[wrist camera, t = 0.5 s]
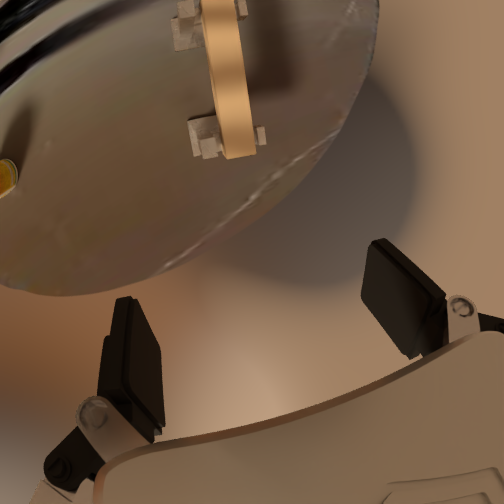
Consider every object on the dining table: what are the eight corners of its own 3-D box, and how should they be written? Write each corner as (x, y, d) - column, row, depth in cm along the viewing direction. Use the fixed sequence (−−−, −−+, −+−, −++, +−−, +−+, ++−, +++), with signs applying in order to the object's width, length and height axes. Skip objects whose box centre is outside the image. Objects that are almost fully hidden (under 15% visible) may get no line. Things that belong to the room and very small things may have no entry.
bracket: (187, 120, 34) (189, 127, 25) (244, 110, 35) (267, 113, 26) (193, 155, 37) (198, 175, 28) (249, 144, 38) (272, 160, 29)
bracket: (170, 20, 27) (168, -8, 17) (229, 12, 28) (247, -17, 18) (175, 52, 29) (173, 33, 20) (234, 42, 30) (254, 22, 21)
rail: (199, 3, 21) (201, -6, 18) (227, 0, 21) (232, -9, 19) (223, 154, 30) (227, 159, 28) (249, 149, 31) (256, 153, 28)
